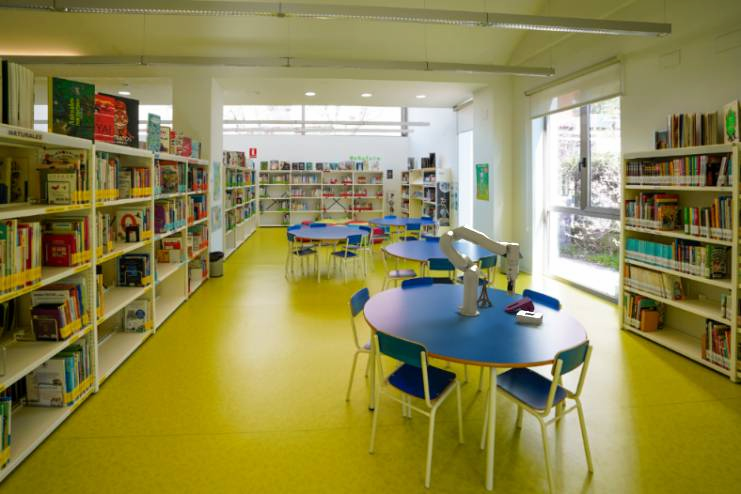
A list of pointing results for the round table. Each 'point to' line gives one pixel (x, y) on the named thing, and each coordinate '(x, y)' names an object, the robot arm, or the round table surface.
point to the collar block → (529, 318)
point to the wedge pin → (513, 289)
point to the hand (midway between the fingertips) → (510, 289)
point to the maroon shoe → (521, 305)
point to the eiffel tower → (484, 292)
